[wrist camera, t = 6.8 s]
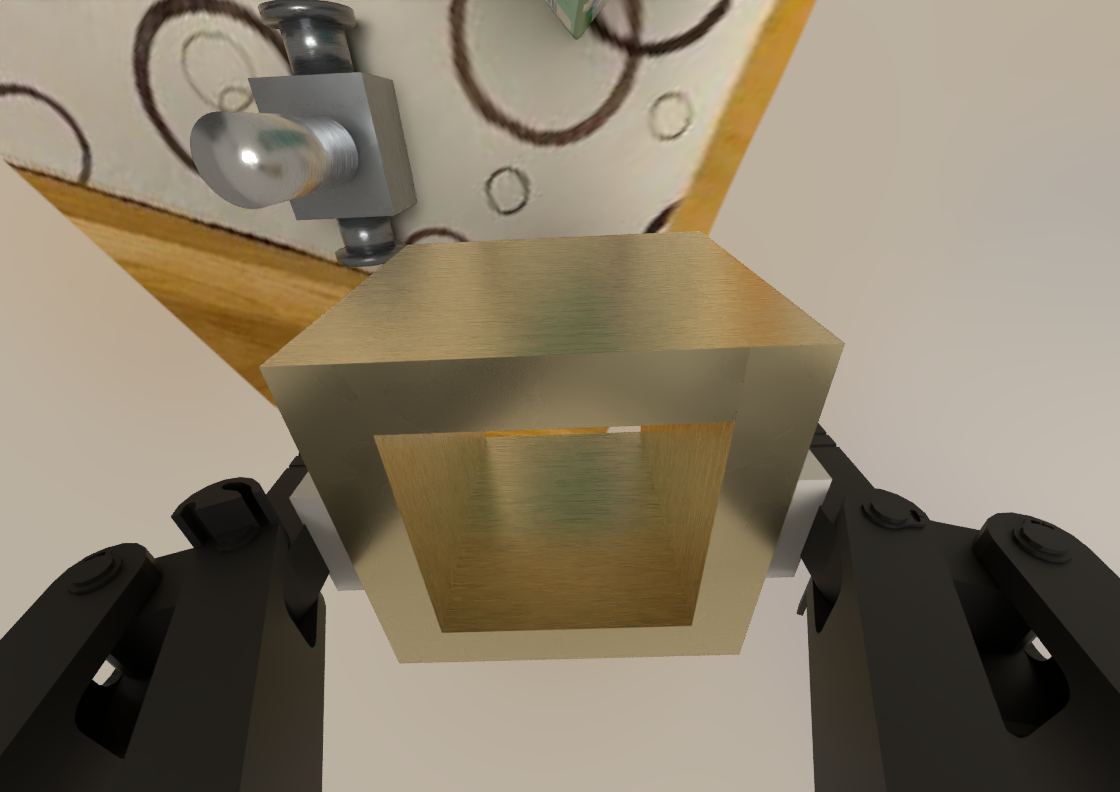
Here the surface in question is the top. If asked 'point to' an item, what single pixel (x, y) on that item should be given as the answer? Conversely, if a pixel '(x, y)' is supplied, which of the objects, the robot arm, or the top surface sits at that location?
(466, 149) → the top surface
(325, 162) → the valve
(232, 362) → the top surface
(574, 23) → the milk carton
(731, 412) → the collar
